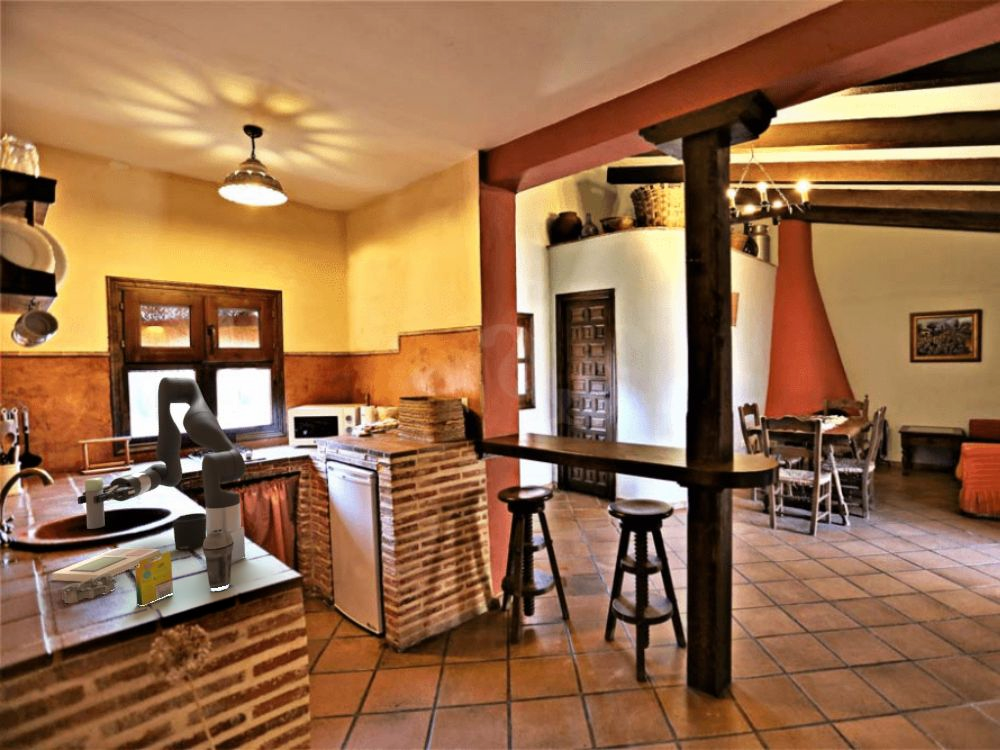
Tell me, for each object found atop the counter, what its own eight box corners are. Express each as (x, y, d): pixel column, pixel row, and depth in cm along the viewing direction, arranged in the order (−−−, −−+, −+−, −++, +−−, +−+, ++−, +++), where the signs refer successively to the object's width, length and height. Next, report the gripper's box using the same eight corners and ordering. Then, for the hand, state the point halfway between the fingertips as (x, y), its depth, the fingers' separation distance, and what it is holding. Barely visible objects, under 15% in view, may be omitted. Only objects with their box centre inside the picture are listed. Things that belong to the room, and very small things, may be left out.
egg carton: (63, 607, 125) (62, 591, 125) (61, 598, 130) (60, 583, 130) (116, 592, 132) (116, 577, 132) (112, 584, 137) (111, 570, 137)
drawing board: (160, 555, 158) (160, 548, 158) (99, 582, 139) (99, 574, 139) (117, 553, 161) (117, 547, 161) (52, 580, 142) (51, 572, 142)
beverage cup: (203, 597, 127) (200, 519, 127) (205, 586, 134) (202, 512, 133) (235, 590, 131) (232, 514, 130) (235, 580, 137) (232, 508, 137)
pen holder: (168, 549, 164) (167, 519, 164) (198, 540, 172) (197, 511, 172) (183, 554, 159) (181, 523, 159) (213, 544, 167) (211, 515, 167)
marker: (108, 524, 148) (106, 477, 148) (95, 529, 144) (92, 481, 144) (96, 524, 149) (94, 477, 149) (82, 528, 145) (80, 480, 144)
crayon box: (168, 593, 130) (166, 549, 130) (174, 595, 129) (172, 550, 129) (135, 605, 124) (134, 558, 124) (141, 607, 122) (139, 560, 122)
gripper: (108, 475, 160) (61, 488, 143) (152, 473, 161) (111, 486, 143) (109, 498, 161) (62, 514, 143) (153, 497, 161) (112, 512, 143)
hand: (87, 500), depth 143 cm, fingers closed on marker, 4 cm apart
